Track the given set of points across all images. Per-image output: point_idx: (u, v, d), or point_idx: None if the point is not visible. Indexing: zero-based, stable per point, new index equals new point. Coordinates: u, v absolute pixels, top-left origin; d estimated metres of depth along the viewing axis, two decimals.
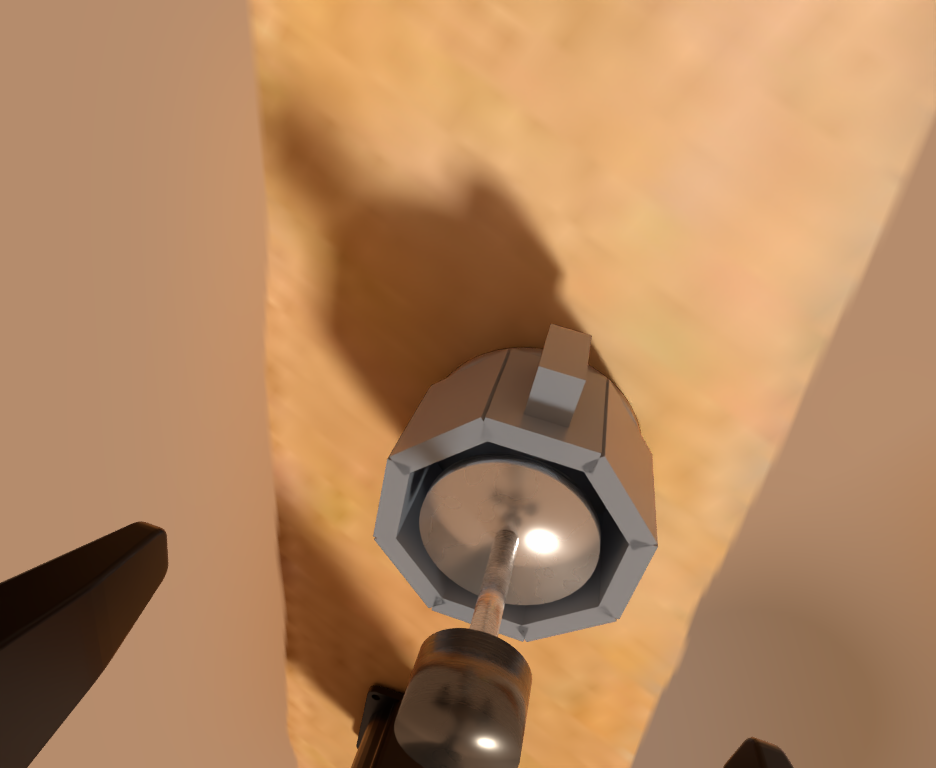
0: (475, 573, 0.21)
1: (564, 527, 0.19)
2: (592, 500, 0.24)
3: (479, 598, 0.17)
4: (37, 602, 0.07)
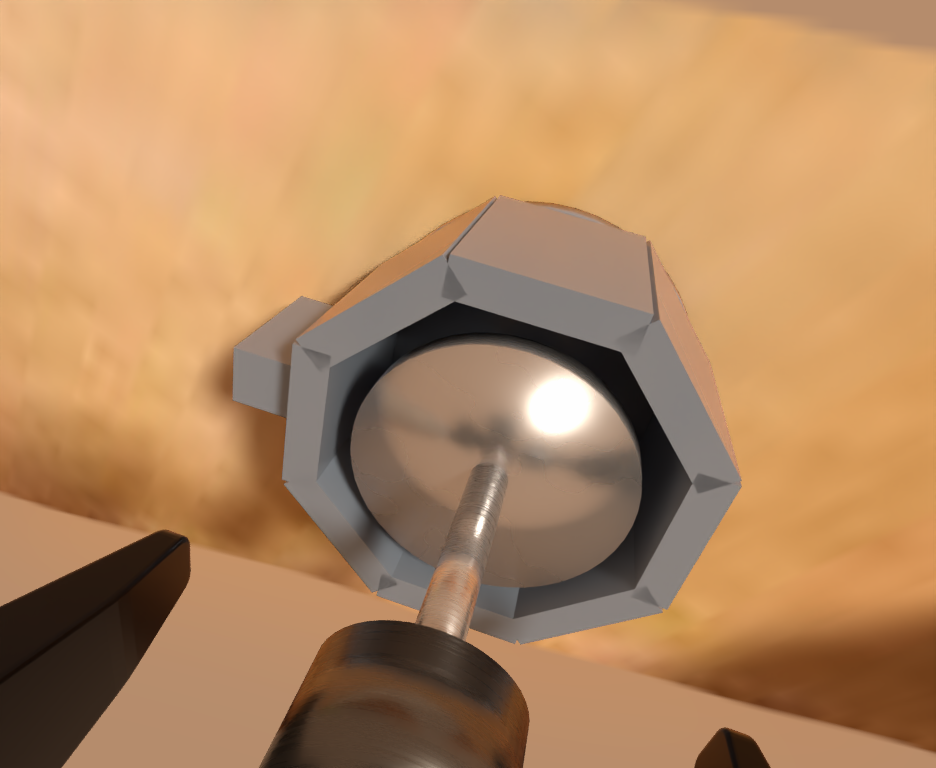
0: (573, 532, 0.13)
1: (447, 397, 0.12)
2: None
3: None
4: (66, 613, 0.07)
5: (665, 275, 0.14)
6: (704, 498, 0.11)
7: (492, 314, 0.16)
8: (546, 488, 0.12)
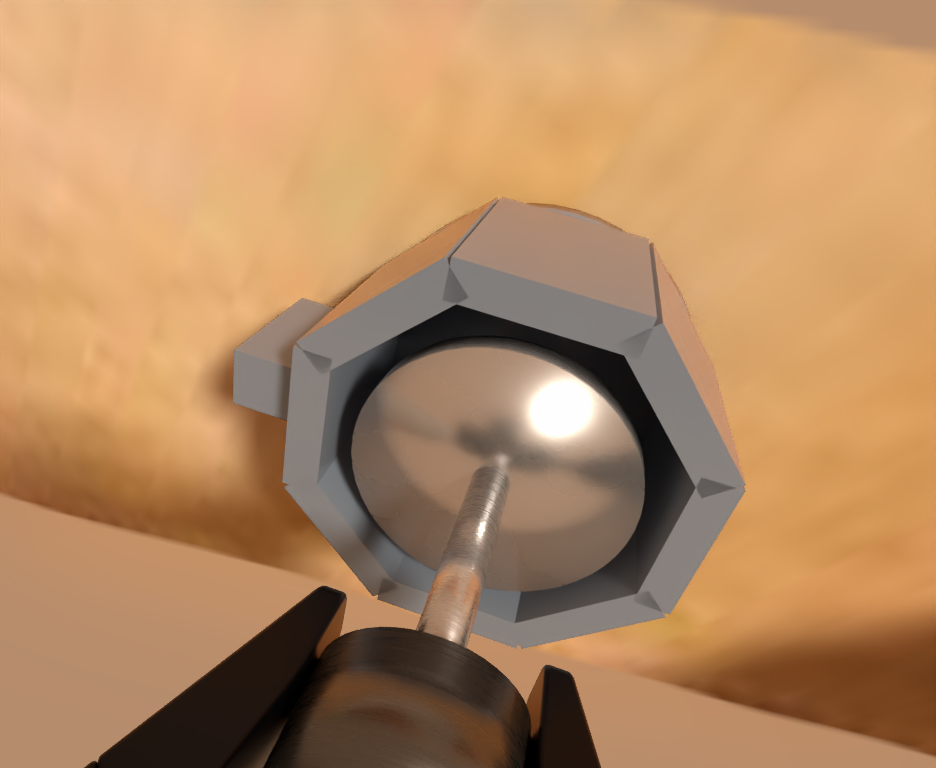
0: (575, 536, 0.12)
1: (449, 400, 0.12)
2: None
3: None
4: (262, 686, 0.07)
5: (668, 277, 0.14)
6: (707, 502, 0.11)
7: (494, 316, 0.16)
8: (548, 492, 0.12)
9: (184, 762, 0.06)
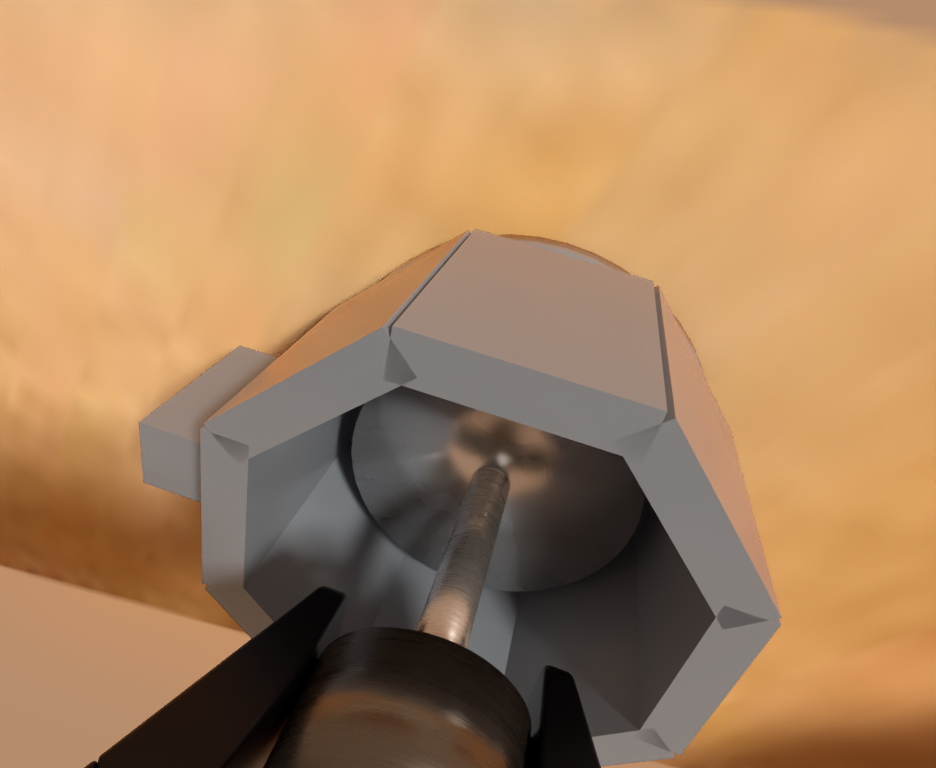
0: (575, 536, 0.12)
1: None
2: None
3: None
4: (261, 686, 0.07)
5: (677, 329, 0.11)
6: (731, 635, 0.09)
7: None
8: (548, 492, 0.12)
9: (184, 762, 0.06)
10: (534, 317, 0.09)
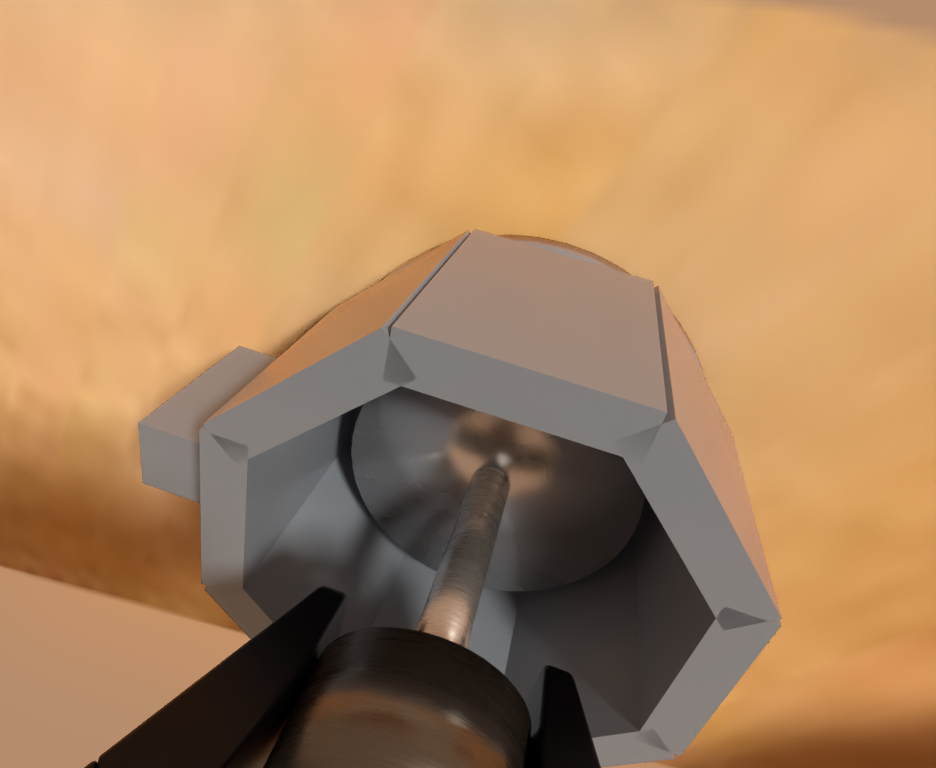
0: (575, 536, 0.12)
1: None
2: None
3: None
4: (262, 686, 0.07)
5: (677, 329, 0.11)
6: (731, 636, 0.09)
7: None
8: (548, 492, 0.12)
9: (184, 762, 0.06)
10: (534, 317, 0.09)
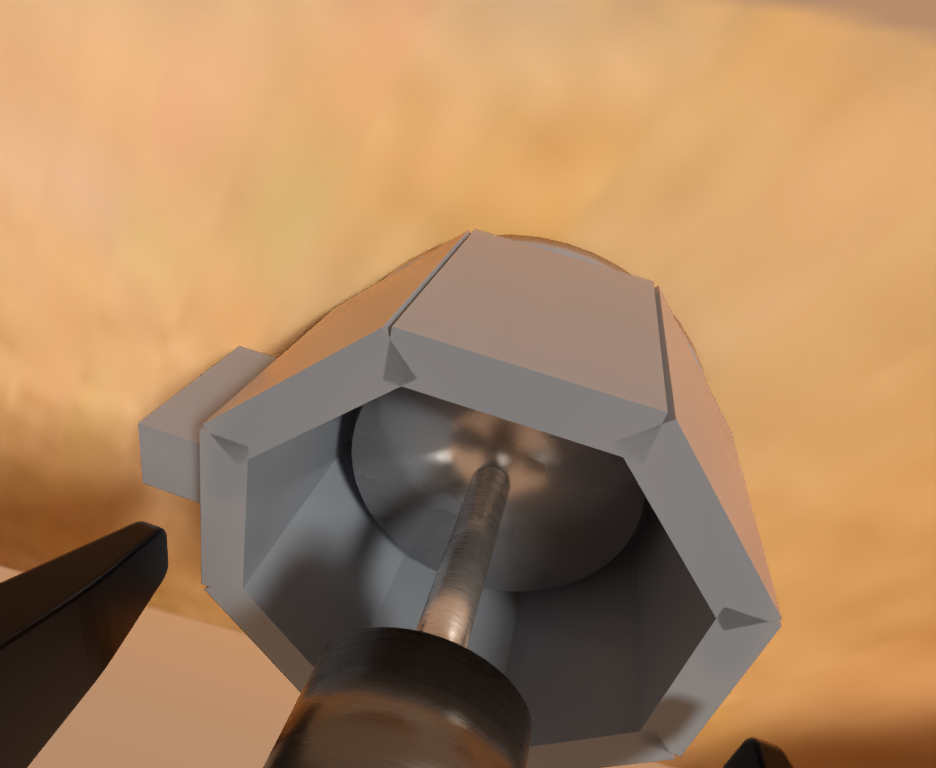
0: (575, 536, 0.12)
1: None
2: None
3: None
4: (37, 602, 0.07)
5: (677, 329, 0.11)
6: (731, 636, 0.09)
7: None
8: (548, 492, 0.12)
9: None
10: (534, 318, 0.09)
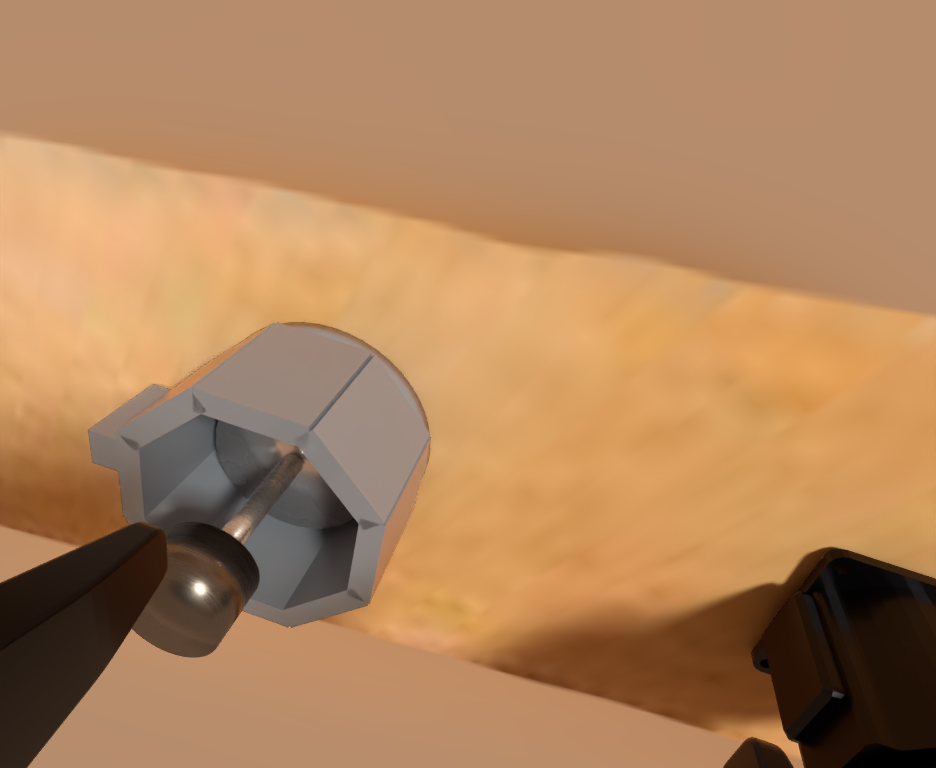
0: None
1: None
2: None
3: None
4: (37, 602, 0.07)
5: (384, 378, 0.21)
6: (368, 533, 0.18)
7: None
8: None
9: None
10: (274, 380, 0.18)
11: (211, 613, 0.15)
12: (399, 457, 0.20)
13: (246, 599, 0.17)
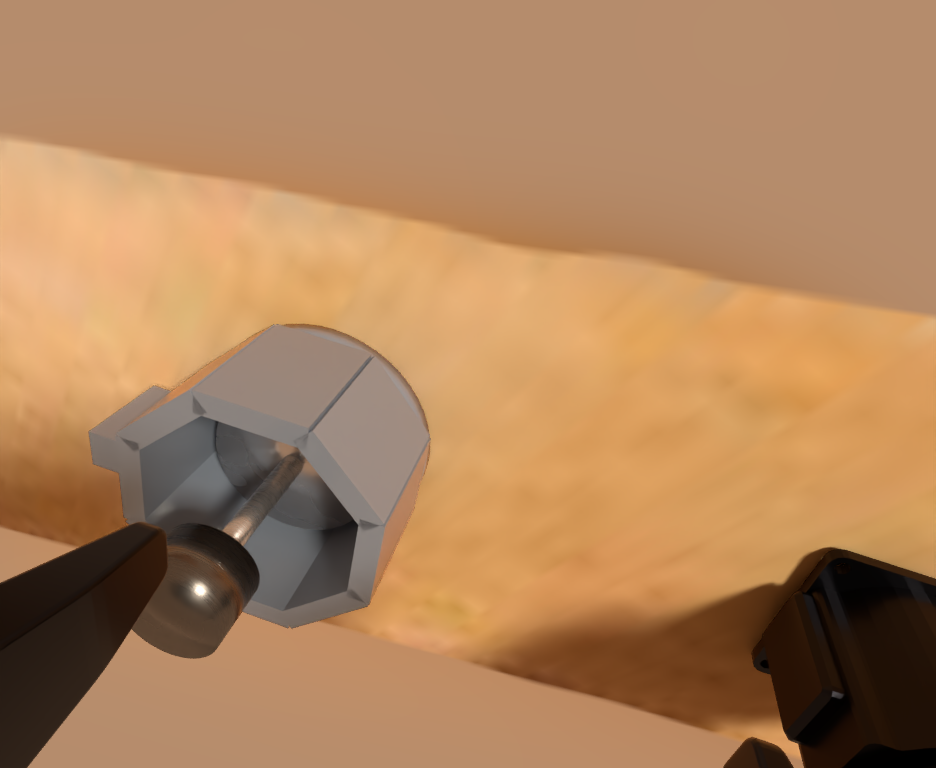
0: None
1: None
2: None
3: None
4: (37, 602, 0.07)
5: (384, 380, 0.21)
6: (368, 534, 0.18)
7: None
8: None
9: None
10: (273, 381, 0.18)
11: (212, 614, 0.15)
12: (399, 458, 0.20)
13: (246, 600, 0.17)
